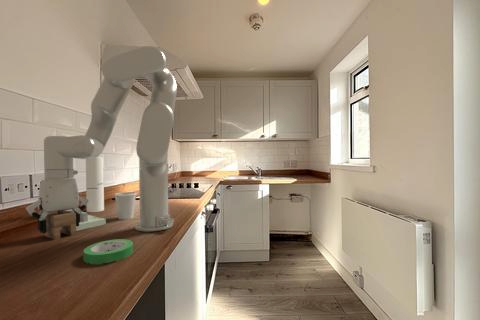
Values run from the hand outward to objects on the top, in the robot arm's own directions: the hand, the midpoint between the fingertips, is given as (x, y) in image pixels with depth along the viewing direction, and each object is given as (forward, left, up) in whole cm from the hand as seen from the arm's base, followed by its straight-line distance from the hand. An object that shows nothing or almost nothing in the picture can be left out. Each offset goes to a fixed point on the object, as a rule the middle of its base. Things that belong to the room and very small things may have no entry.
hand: (60, 228), depth 82 cm
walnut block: (0, 0, -2) cm, 2 cm away
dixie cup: (+4, -25, -2) cm, 25 cm away
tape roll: (-30, +1, -3) cm, 30 cm away
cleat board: (+9, -9, -2) cm, 13 cm away
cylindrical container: (+30, -26, -2) cm, 40 cm away
